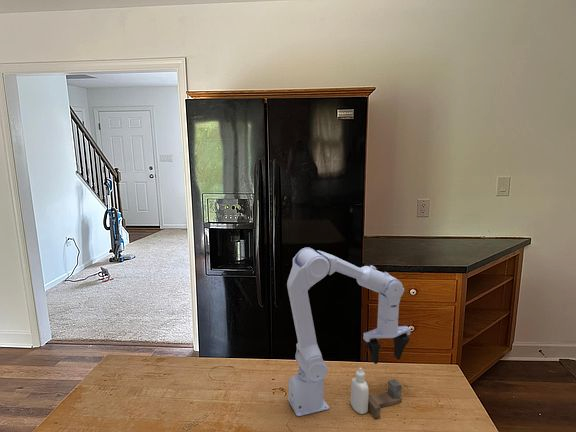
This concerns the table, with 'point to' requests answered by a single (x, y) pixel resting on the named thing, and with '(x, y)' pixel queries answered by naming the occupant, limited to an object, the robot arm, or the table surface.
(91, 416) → the table surface
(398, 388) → the grey hook bracket
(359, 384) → the eye dropper bottle
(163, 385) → the table surface
